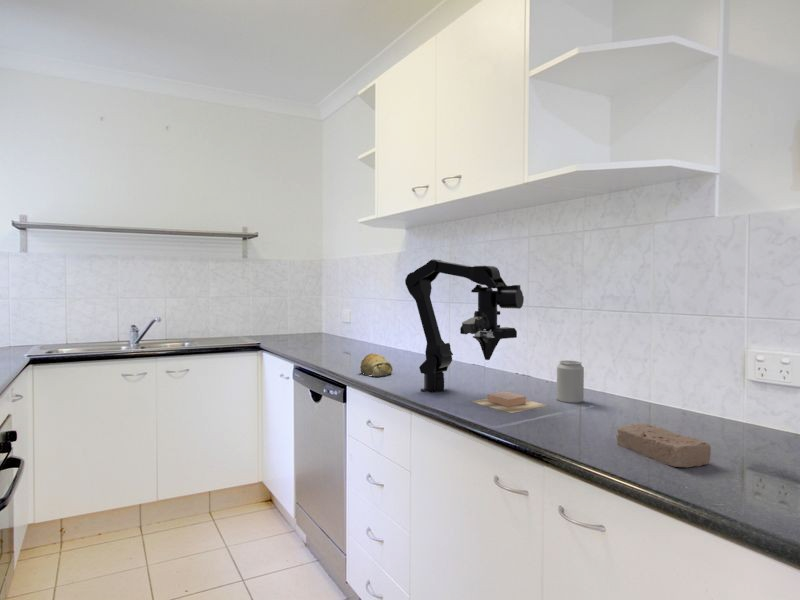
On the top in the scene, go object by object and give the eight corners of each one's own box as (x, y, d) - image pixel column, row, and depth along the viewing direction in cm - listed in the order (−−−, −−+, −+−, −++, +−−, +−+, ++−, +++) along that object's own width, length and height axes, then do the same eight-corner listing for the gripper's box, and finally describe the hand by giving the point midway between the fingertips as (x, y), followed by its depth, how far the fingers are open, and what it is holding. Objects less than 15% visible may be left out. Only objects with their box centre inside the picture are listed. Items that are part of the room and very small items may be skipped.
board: (470, 403, 145) (470, 401, 145) (506, 397, 153) (506, 395, 153) (511, 415, 132) (511, 413, 132) (549, 407, 140) (549, 405, 140)
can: (585, 405, 142) (586, 363, 142) (558, 404, 144) (558, 362, 143) (581, 399, 150) (581, 359, 149) (555, 398, 151) (555, 359, 151)
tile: (488, 394, 144) (508, 399, 138) (505, 391, 148) (525, 396, 142) (487, 401, 144) (508, 407, 138) (505, 398, 148) (525, 403, 142)
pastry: (364, 370, 201) (364, 351, 201) (395, 371, 199) (395, 351, 199) (355, 377, 187) (355, 355, 187) (388, 378, 185) (388, 356, 185)
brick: (614, 444, 108) (614, 423, 108) (644, 441, 111) (645, 420, 111) (678, 472, 93) (679, 447, 92) (712, 467, 95) (713, 442, 95)
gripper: (446, 307, 153) (446, 358, 153) (489, 309, 137) (489, 366, 138) (474, 306, 159) (473, 355, 159) (518, 308, 143) (518, 362, 144)
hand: (487, 359), depth 150 cm, fingers closed
